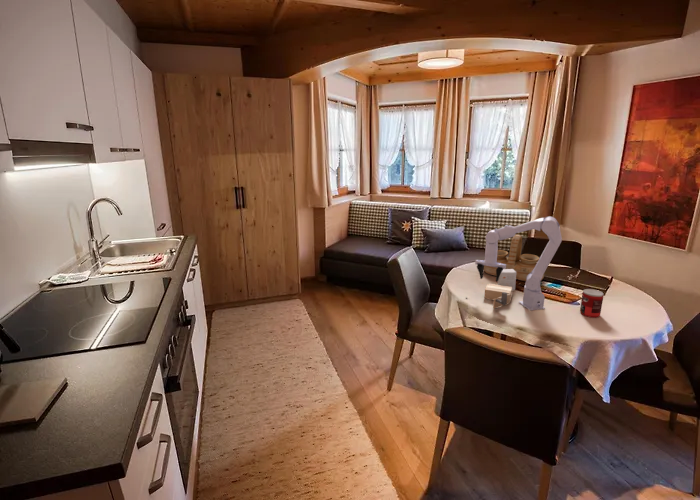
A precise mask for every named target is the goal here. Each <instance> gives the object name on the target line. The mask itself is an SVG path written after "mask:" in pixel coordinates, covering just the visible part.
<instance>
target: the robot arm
mask: <svg viewBox="0 0 700 500" xmlns="http://www.w3.org/2000/svg"><path fill="white" fill-rule="evenodd" d="M531 230H536V231H538V232H541V230H542V232H543V233H544V234H545V235H547V238H548V240H549V241H548V242H547V244H546V245H545V247H544V250H543V251H542V253H541V255H540V256H539V260H538V261H537V264H536V266H535V268H534V269H533V270H532V272H531V273H529V274H528V275H527V280H526V281H525V283H524V284H525V285H523V286H524V288H523V296H522V300H520V301H518V303H519V304H520V305H521V306H523V307H525V308H526V309H528V311H535V310H545V309H546V307H545V298H546V297H545V294H544V293H543V292H542V287H541V282H542V280H543V279H542V277H543V274H544V275H545V272H546V270H547V268H548V267H549V265H550V263H551V261H552V259H553V258H554V256H555V254H556V252H557V251H558V249H559V247H560V245H561V243H562V241H563V238H562V237H563V236H562V231H561V227H560V223H559V222H558V220H557V218H555V217H553V216H550V215H549V216H545V217H540V218H536V219H534V220H531V221H527V222H525V223H522V224H521V223H520V224H518V225H516V226H513V225H508V224H506V225H504V227H500V228H497V227H496V228H494V229H491V230H489V231H488V232H487V233H486V235H485V252H484V260H483V259H482V260H481V259H475V265H476V269H477V271H478V274H479V277H480V278H479V279H481V280H482V279H484V265H485V266H491V267H498V268H497V269H496V276H495V282H496V283H498V279H499V276H500V274H501V272H502V270H503V269H505V268H506V264H502V263H498V262H497V251H498V250H499V249H498V248H499V246H498V242H499V241H503V240H507V239H510V238H511V239H512V238H513V237H514V236H515V235H517V234H518V233H523V232H526V231H531ZM541 279H542V280H541Z"/></svg>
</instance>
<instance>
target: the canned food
mask: <svg viewBox="0 0 700 500" xmlns="http://www.w3.org/2000/svg"><path fill="white" fill-rule="evenodd" d="M582 290H583V291H582V296H581V301H580V307H579V308H580V309H579V312H580V314H581V315H582V316H585V317H588V318H598V317H600V316H601V313H602V307H603V302H604V295H605V294H604V293H603V292H604V291H600V290H599V289H598V290H597V289H593V288H586V289H582Z"/></svg>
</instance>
